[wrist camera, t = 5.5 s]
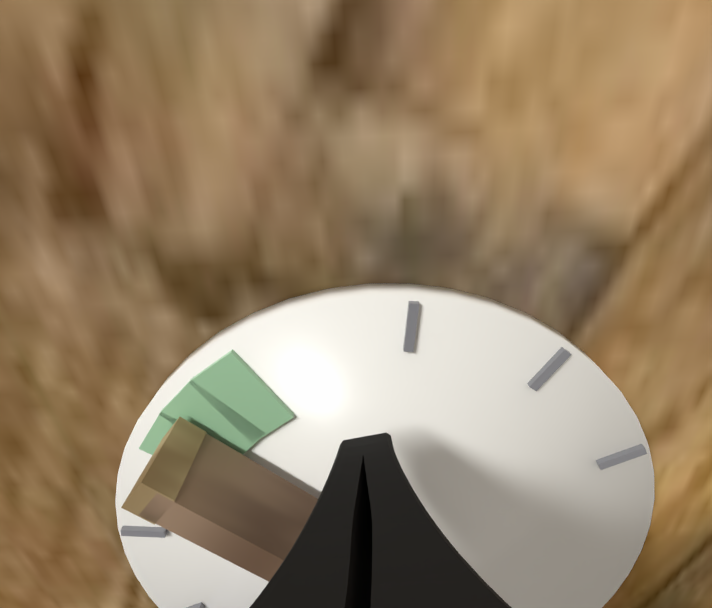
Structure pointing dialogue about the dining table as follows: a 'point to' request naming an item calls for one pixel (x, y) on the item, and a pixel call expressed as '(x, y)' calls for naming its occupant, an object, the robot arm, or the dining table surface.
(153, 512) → the tuning pointer
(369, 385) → the gauge dial
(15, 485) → the dining table surface
